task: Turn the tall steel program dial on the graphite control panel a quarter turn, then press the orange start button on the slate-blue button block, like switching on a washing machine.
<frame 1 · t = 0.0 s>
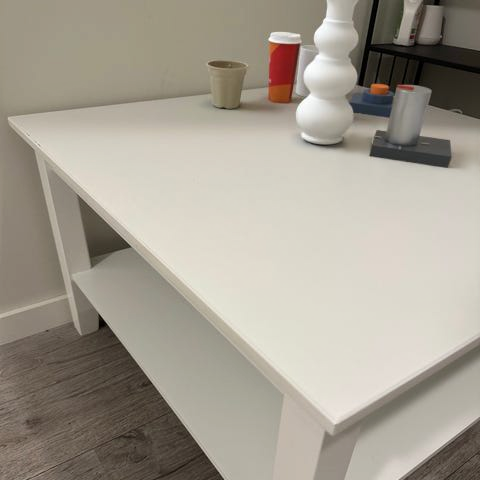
flower pot: (226, 106, 111), on the table
vase: (320, 141, 95), on the table
start button: (379, 89, 111), point 4 cm above the table, slide at 0.1 cm
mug: (318, 95, 123), on the table
control panel: (409, 153, 91), on the table
dial: (407, 114, 87), point 7 cm above the table, hinge at 0.0°
paper cup: (279, 100, 117), on the table
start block: (375, 110, 114), on the table
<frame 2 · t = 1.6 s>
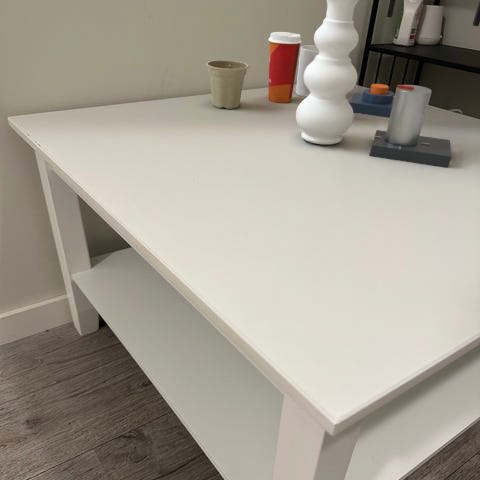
hand: (431, 21, 78), 21 cm above the table, tool pointing down, fingers open, 13 cm apart
nothing on the table moved.
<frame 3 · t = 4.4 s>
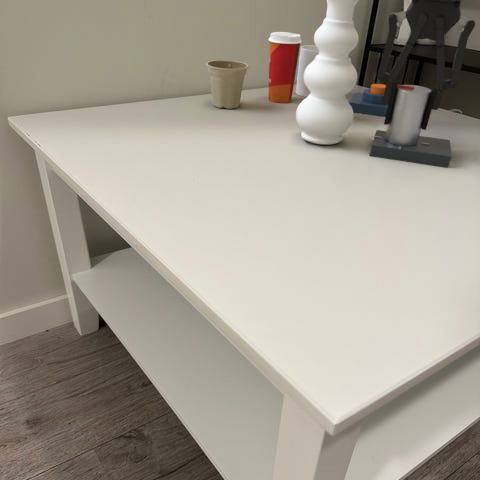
hand: (405, 124, 88), 5 cm above the table, tool pointing down, fingers closed on dial, 6 cm apart
dial: (407, 114, 87), point 7 cm above the table, hinge at 0.0°, touching gripper
everything else where it was.
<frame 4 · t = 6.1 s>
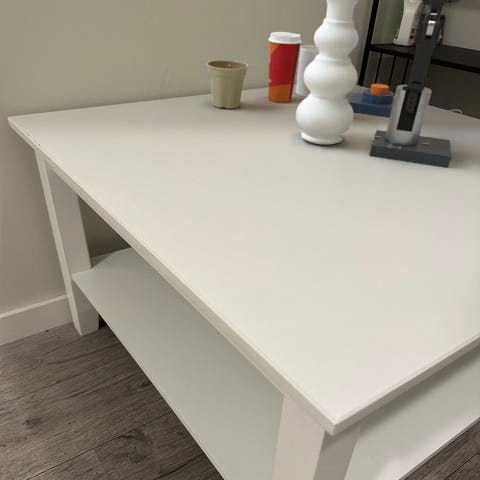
hand: (405, 125, 88), 5 cm above the table, tool pointing down, fingers closed on dial, 6 cm apart
dial: (407, 114, 87), point 7 cm above the table, hinge at 89.8°, touching gripper
everything else where it was.
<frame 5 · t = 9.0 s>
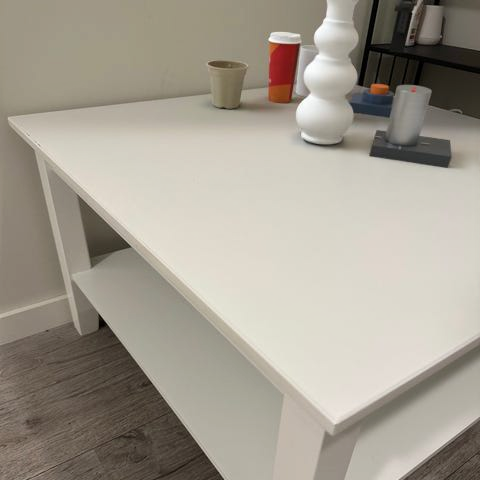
hand: (397, 47, 97), 15 cm above the table, tool pointing down, fingers open, 13 cm apart
dial: (407, 114, 87), point 7 cm above the table, hinge at 89.8°
everything else where it was.
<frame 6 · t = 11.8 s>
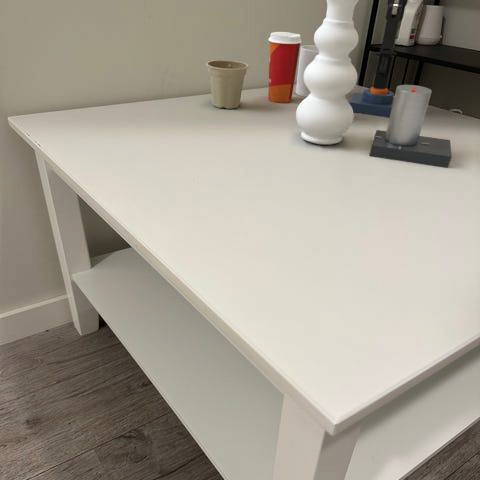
hand: (379, 87, 111), 5 cm above the table, tool pointing down, fingers closed
start button: (378, 92, 111), point 4 cm above the table, slide at -0.5 cm, touching gripper
everything else where it was.
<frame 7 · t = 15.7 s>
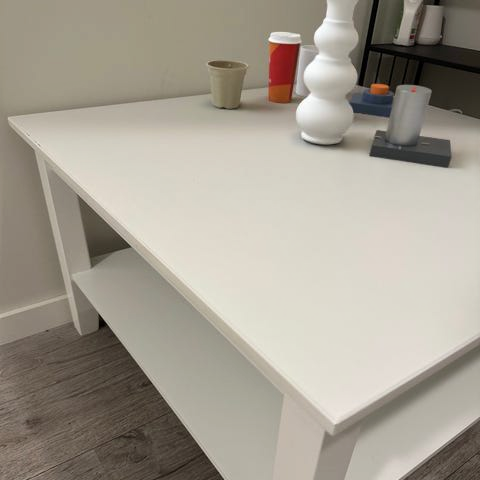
start button: (379, 89, 111), point 4 cm above the table, slide at 0.1 cm
everything else where it was.
at the end: dial at +90° (first picture: +0°); start button pushed in 1.0 cm at the most during the clip, back to where it started at the end; start button slide at 0.1 cm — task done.
